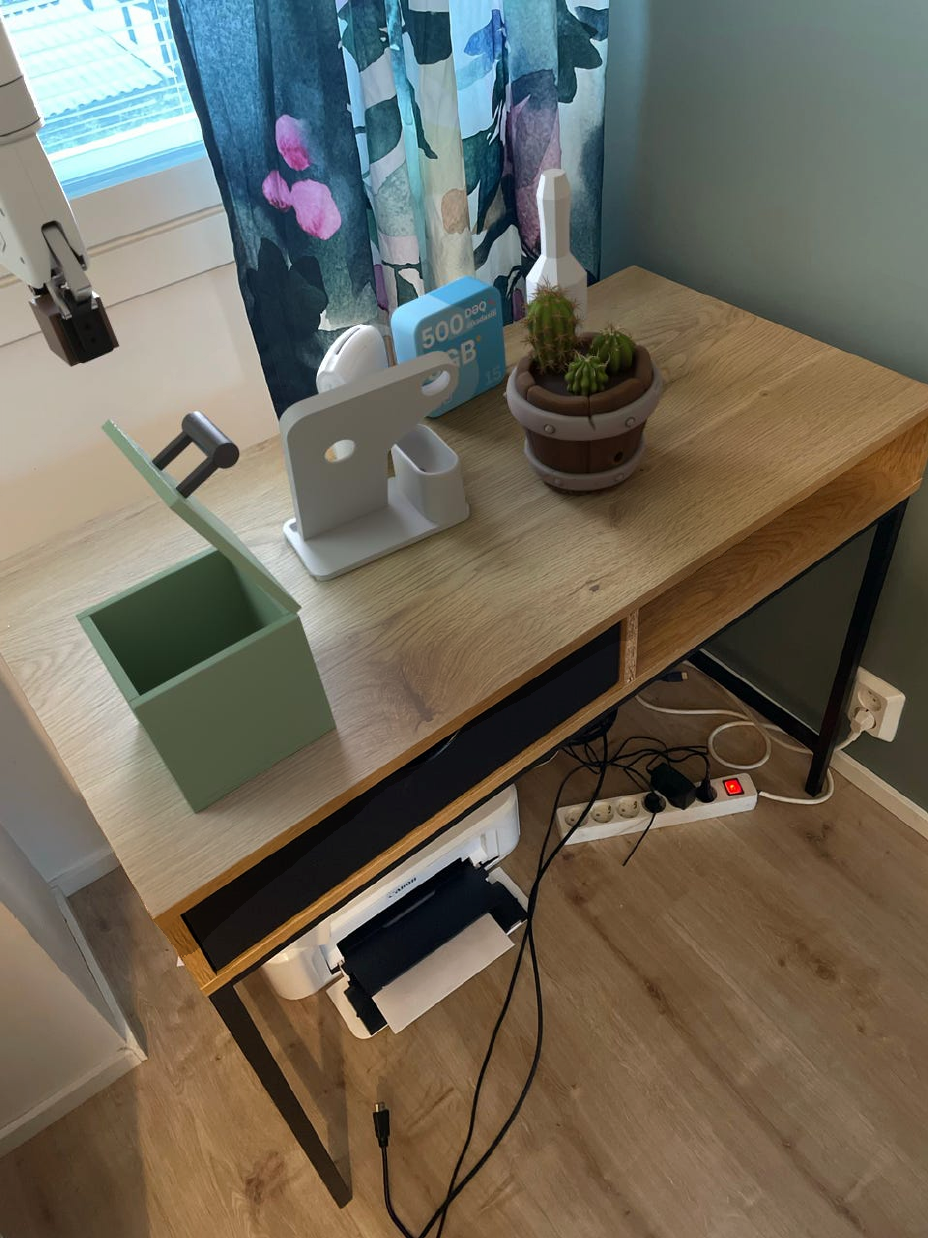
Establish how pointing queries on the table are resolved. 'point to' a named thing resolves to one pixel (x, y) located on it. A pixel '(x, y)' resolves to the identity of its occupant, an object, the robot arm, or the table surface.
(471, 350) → the data package
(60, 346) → the block
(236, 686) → the box
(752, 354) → the table surface
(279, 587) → the green box lid
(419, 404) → the phone holder
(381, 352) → the photo printer
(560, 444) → the flowerpot
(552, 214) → the low poly bottle
